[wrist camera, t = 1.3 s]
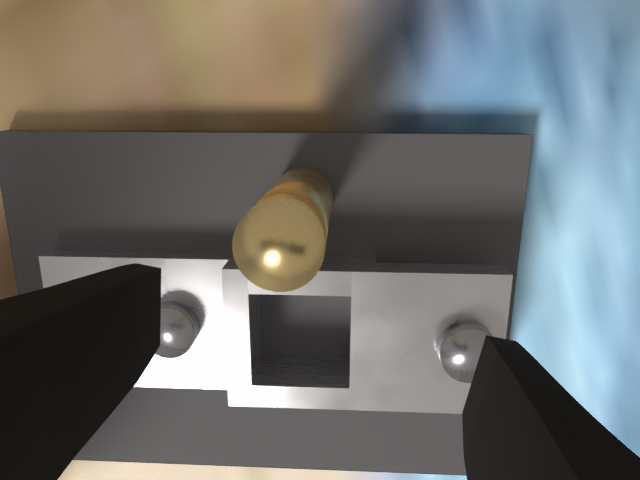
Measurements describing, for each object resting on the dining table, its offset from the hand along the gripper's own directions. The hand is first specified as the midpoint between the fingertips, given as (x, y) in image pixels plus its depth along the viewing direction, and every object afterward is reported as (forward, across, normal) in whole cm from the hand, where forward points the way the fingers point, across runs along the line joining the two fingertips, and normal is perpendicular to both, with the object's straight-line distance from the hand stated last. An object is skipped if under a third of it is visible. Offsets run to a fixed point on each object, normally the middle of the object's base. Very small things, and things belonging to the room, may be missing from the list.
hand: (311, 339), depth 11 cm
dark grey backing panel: (+10, +4, +6) cm, 12 cm away
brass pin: (+10, +2, 0) cm, 10 cm away
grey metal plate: (+9, +3, +6) cm, 11 cm away
